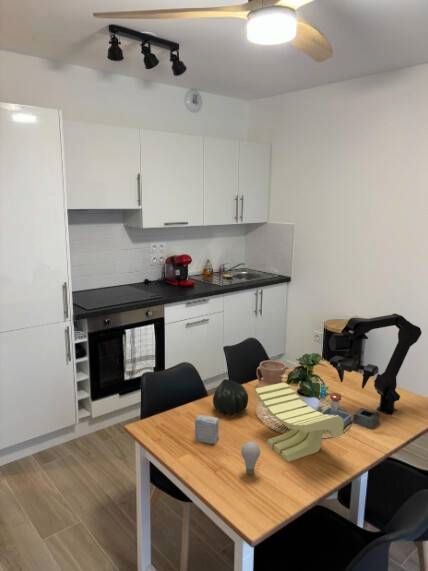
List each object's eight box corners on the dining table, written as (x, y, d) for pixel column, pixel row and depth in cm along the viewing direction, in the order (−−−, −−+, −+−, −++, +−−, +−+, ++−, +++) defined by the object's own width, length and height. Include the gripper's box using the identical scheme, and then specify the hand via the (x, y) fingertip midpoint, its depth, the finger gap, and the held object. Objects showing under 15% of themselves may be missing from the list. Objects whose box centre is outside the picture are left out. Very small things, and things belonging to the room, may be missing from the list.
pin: (331, 417, 175) (333, 392, 173) (341, 420, 172) (343, 395, 170) (326, 420, 172) (327, 395, 169) (336, 424, 169) (338, 398, 167)
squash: (259, 403, 175) (243, 370, 181) (231, 415, 167) (215, 380, 172) (243, 414, 186) (228, 383, 191) (215, 426, 177) (201, 392, 182)
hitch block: (360, 416, 177) (361, 407, 176) (379, 422, 172) (379, 413, 171) (353, 422, 171) (353, 413, 171) (371, 429, 166) (372, 420, 166)
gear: (310, 397, 190) (306, 376, 196) (304, 402, 195) (300, 381, 200) (332, 398, 193) (327, 377, 199) (326, 402, 197) (321, 382, 203)
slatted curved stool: (340, 462, 145) (344, 414, 142) (303, 475, 138) (306, 424, 134) (287, 422, 171) (289, 381, 168) (253, 431, 164) (255, 388, 161)
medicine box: (218, 439, 158) (219, 417, 157) (214, 445, 154) (215, 423, 153) (199, 435, 161) (199, 414, 159) (194, 441, 157) (194, 419, 155)
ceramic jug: (296, 395, 195) (297, 366, 193) (274, 404, 186) (275, 373, 184) (268, 383, 209) (268, 356, 207) (246, 391, 200) (247, 362, 198)
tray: (328, 413, 179) (328, 406, 178) (351, 421, 172) (351, 414, 172) (316, 422, 171) (316, 415, 171) (339, 431, 165) (340, 424, 164)
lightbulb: (239, 468, 141) (240, 438, 139) (257, 467, 141) (258, 437, 139) (242, 480, 135) (242, 448, 133) (261, 479, 135) (262, 447, 133)
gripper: (324, 348, 174) (322, 384, 177) (369, 359, 161) (366, 398, 164) (337, 342, 182) (334, 376, 185) (380, 352, 169) (377, 389, 172)
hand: (352, 385), depth 176 cm, fingers open, 9 cm apart
